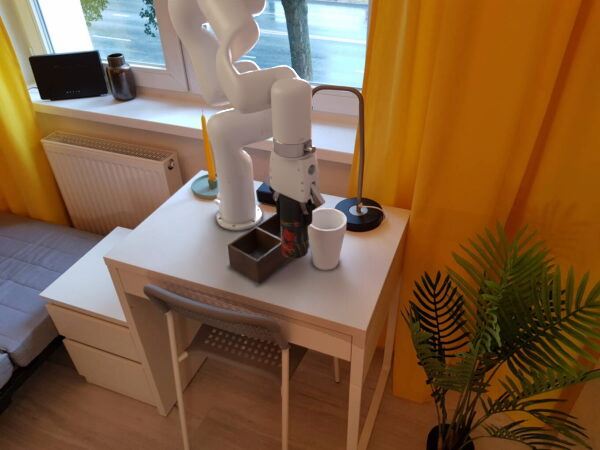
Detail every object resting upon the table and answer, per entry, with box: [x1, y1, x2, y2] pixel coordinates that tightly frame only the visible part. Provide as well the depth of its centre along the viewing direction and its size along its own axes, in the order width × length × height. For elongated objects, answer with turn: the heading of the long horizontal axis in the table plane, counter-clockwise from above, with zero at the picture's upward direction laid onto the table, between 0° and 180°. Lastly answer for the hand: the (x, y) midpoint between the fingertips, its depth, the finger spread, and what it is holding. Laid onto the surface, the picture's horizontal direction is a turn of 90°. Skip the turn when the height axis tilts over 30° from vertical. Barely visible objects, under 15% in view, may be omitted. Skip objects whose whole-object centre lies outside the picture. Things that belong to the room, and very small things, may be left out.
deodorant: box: [279, 193, 309, 260], centre depth 106 cm, size 6×6×15 cm
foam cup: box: [308, 207, 348, 271], centre depth 118 cm, size 10×9×13 cm
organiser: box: [227, 212, 310, 285], centre depth 122 cm, size 10×19×7 cm, turn 141°
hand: (294, 219), depth 105 cm, fingers closed on deodorant, 6 cm apart
